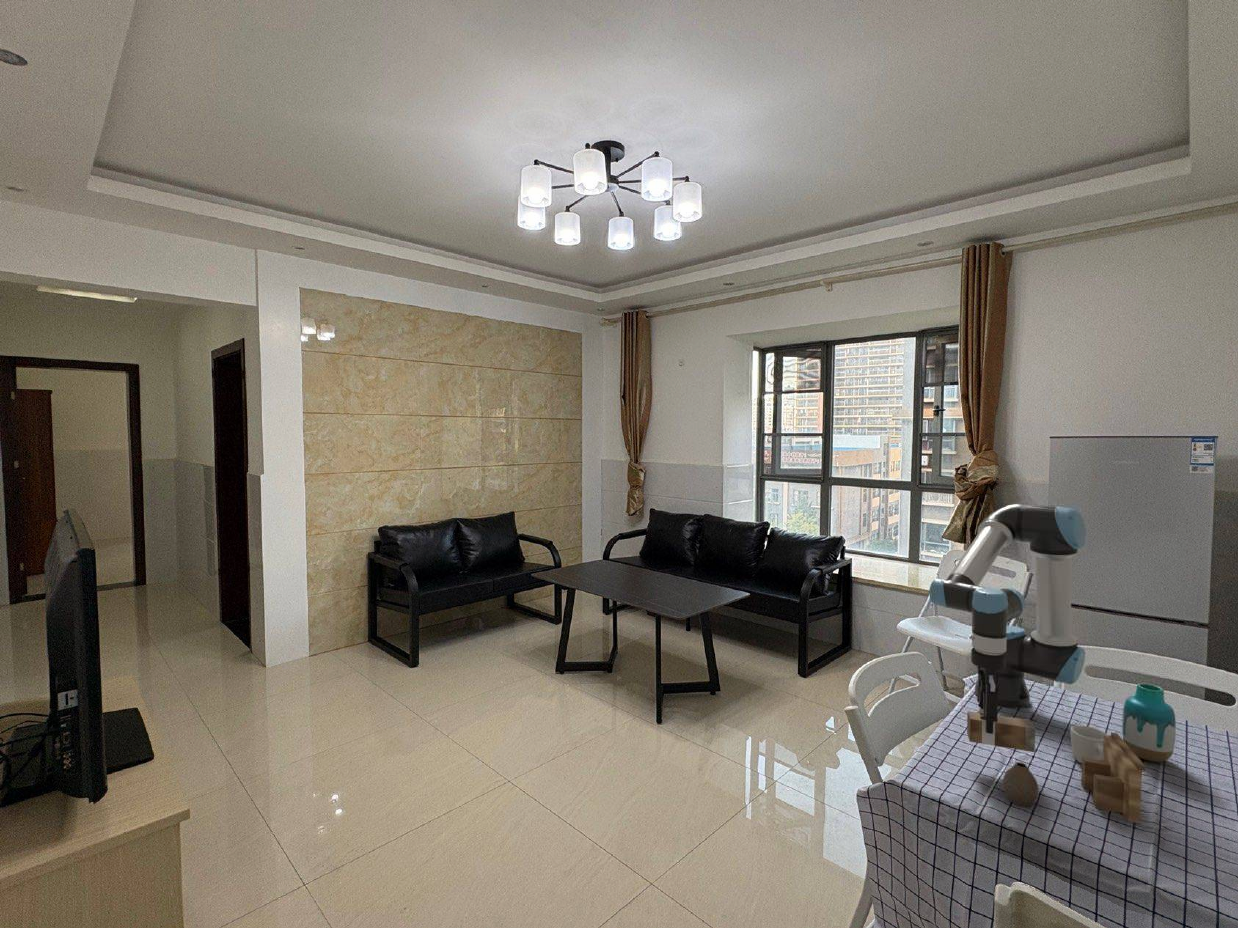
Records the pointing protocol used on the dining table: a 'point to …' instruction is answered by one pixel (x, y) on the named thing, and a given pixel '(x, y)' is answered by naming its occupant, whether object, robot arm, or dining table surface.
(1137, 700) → the vase
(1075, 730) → the cup
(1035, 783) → the vase
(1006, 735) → the brown wooden block
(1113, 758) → the headboard
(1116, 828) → the dining table surface
